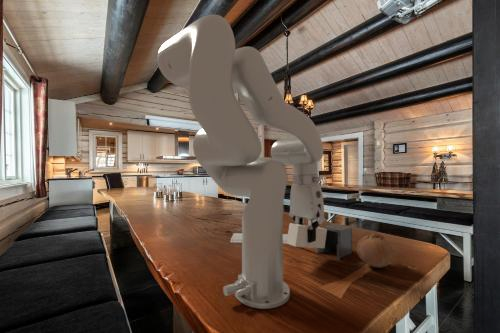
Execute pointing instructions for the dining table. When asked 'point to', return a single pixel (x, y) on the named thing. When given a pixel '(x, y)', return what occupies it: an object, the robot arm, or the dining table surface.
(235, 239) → the baseboard molding
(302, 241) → the rectangular block
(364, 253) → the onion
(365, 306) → the dining table surface
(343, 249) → the end cap
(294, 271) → the dining table surface
